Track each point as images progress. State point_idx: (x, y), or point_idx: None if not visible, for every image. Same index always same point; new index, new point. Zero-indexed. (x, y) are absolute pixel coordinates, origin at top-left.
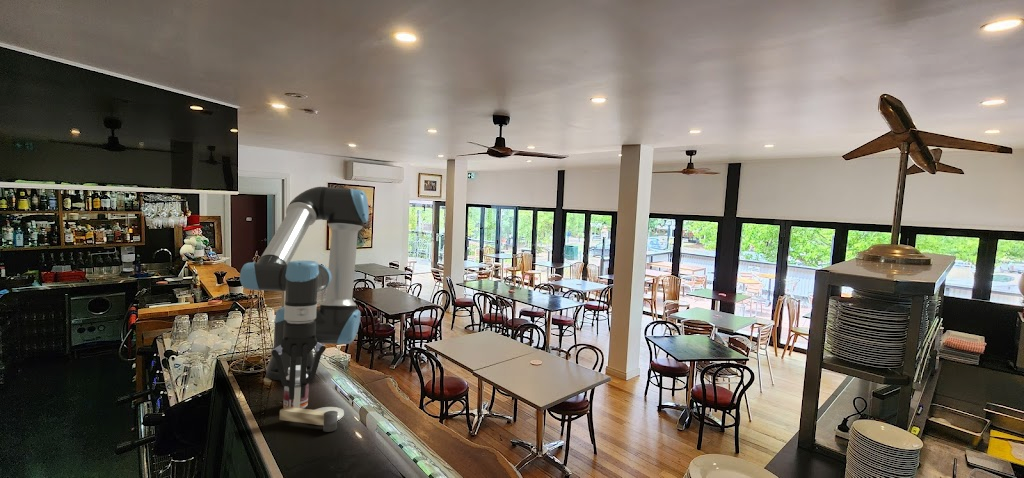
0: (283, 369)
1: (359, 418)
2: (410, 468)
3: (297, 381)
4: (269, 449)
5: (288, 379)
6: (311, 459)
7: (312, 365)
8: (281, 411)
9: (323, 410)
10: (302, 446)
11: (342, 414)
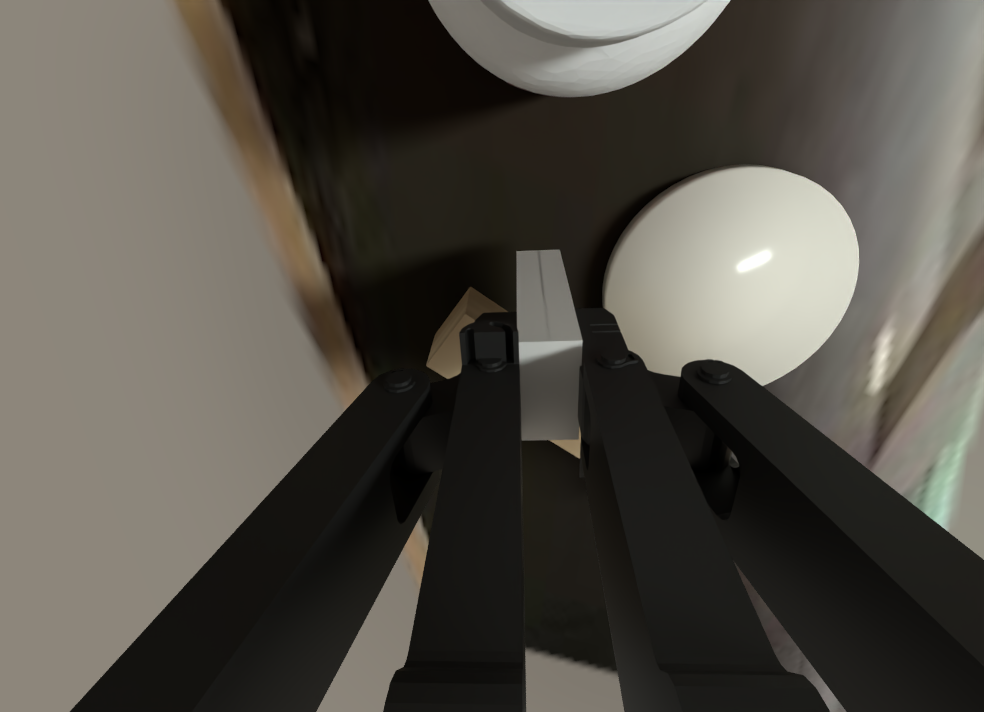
0: (348, 642)
1: (895, 366)
2: None
3: (575, 96)
4: (418, 520)
5: (454, 19)
6: (565, 617)
7: (809, 604)
8: (438, 369)
9: (731, 232)
10: (544, 538)
11: (819, 344)
